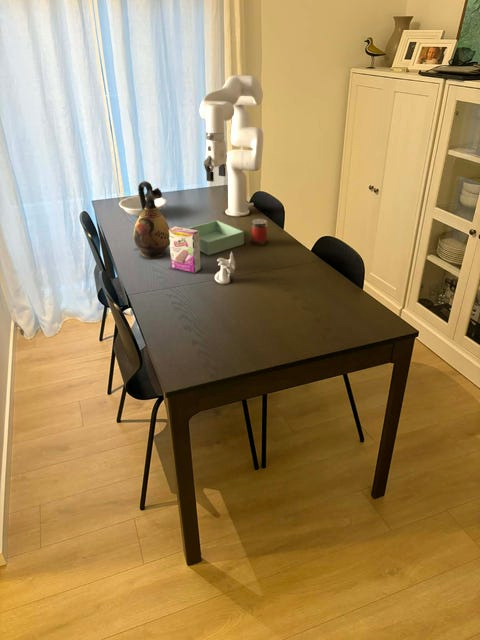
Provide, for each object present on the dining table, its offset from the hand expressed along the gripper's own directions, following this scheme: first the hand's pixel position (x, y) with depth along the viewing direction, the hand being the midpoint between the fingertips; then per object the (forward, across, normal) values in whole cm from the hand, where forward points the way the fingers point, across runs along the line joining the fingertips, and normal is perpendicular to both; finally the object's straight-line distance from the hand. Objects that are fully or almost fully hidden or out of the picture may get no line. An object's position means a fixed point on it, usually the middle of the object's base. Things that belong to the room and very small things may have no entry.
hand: (216, 178), depth 210 cm
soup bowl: (+27, +10, +50) cm, 58 cm away
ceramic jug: (+28, -28, +15) cm, 42 cm away
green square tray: (+27, -6, -1) cm, 28 cm away
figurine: (+28, -37, -27) cm, 53 cm away
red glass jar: (+27, +5, -19) cm, 33 cm away
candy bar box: (+28, -34, -6) cm, 44 cm away
